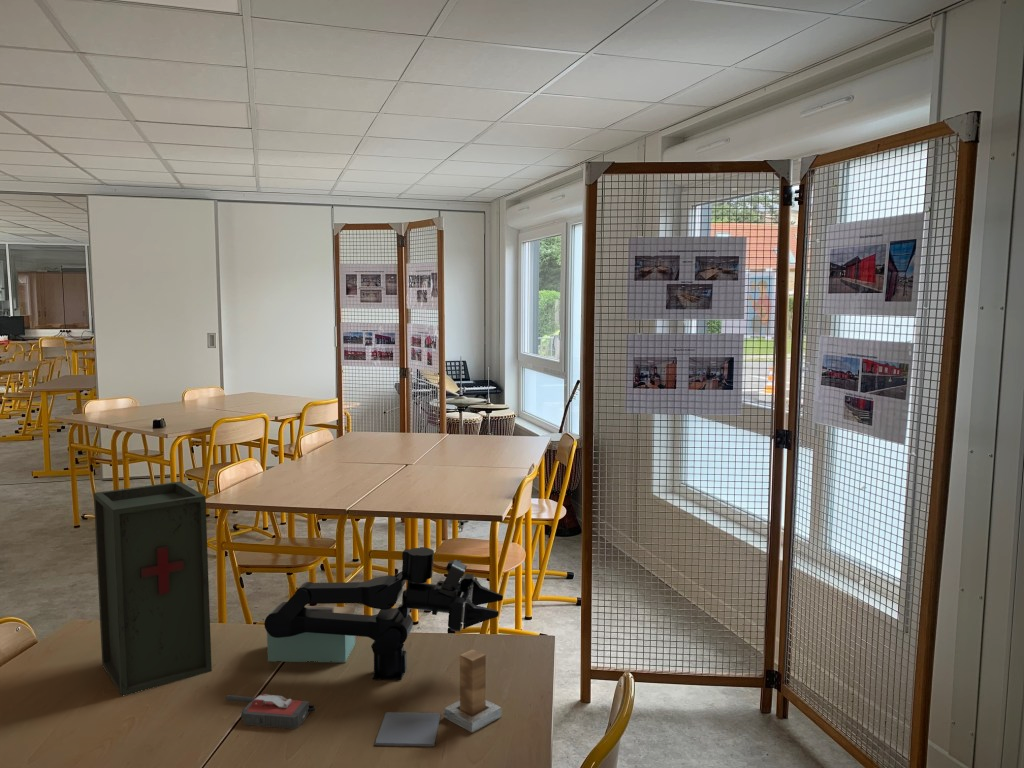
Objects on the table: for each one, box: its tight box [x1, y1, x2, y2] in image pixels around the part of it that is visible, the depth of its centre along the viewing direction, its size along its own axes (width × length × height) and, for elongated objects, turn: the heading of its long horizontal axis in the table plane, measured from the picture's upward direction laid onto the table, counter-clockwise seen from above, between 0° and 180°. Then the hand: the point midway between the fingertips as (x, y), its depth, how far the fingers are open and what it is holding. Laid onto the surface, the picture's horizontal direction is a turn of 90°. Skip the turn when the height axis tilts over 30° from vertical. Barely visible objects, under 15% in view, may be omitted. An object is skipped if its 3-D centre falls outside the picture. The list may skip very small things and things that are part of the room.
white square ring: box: [443, 699, 502, 734], centre depth 154 cm, size 8×8×2 cm
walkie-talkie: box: [225, 693, 316, 730], centre depth 155 cm, size 9×4×20 cm
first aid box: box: [93, 481, 213, 697], centre depth 173 cm, size 18×18×40 cm
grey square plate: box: [374, 711, 441, 747], centre depth 150 cm, size 11×11×1 cm
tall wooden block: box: [459, 648, 487, 717], centre depth 154 cm, size 4×4×13 cm
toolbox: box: [266, 605, 356, 663], centre depth 183 cm, size 18×10×11 cm, turn 89°
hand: (500, 605), depth 169 cm, fingers open, 9 cm apart
